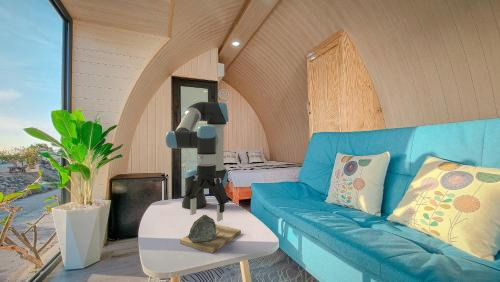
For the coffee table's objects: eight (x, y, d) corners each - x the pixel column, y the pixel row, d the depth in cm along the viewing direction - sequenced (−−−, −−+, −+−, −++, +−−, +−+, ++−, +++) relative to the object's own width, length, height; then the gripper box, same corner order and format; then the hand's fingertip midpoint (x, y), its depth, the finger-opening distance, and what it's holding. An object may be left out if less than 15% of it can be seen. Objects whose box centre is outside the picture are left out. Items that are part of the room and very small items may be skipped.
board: (211, 226, 103) (211, 223, 103) (240, 233, 96) (240, 229, 96) (179, 243, 86) (179, 239, 86) (212, 253, 78) (212, 249, 78)
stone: (201, 217, 82) (209, 208, 92) (182, 233, 83) (191, 223, 93) (218, 237, 82) (223, 226, 92) (198, 253, 82) (205, 240, 92)
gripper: (176, 163, 90) (176, 214, 91) (227, 168, 78) (226, 226, 79) (189, 161, 97) (189, 209, 97) (238, 165, 85) (237, 219, 85)
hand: (206, 217), depth 88 cm, fingers open, 13 cm apart
